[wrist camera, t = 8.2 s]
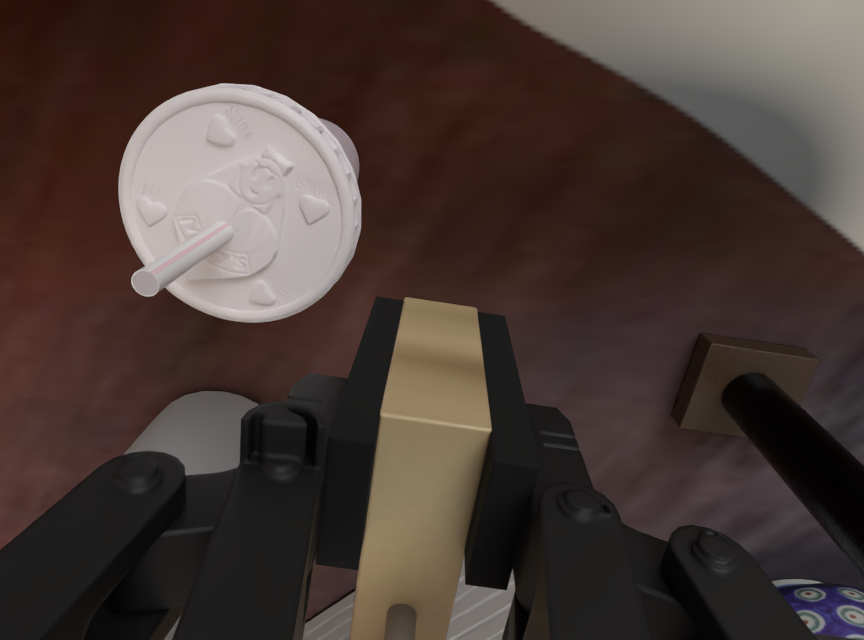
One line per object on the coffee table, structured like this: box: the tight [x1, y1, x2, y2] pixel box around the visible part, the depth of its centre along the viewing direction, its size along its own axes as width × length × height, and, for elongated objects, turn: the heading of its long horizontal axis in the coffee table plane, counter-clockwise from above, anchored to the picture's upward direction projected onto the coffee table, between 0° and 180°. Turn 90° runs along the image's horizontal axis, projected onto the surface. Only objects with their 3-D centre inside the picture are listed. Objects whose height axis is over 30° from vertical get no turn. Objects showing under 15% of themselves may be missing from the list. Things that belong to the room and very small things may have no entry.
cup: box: [123, 391, 259, 640], centre depth 26 cm, size 7×10×9 cm
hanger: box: [349, 297, 492, 640], centre depth 13 cm, size 12×2×11 cm, turn 171°
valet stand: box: [672, 333, 864, 640], centre depth 20 cm, size 4×12×16 cm, turn 81°
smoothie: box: [118, 83, 361, 323], centre depth 18 cm, size 6×6×14 cm
